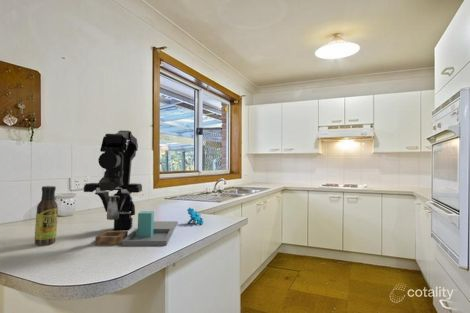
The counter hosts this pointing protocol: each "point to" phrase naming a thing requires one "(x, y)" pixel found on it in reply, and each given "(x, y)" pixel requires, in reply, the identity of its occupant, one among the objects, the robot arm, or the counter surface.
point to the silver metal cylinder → (112, 207)
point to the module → (145, 223)
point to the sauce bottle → (46, 217)
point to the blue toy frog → (194, 216)
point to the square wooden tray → (111, 238)
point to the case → (158, 238)
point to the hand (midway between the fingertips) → (113, 211)
